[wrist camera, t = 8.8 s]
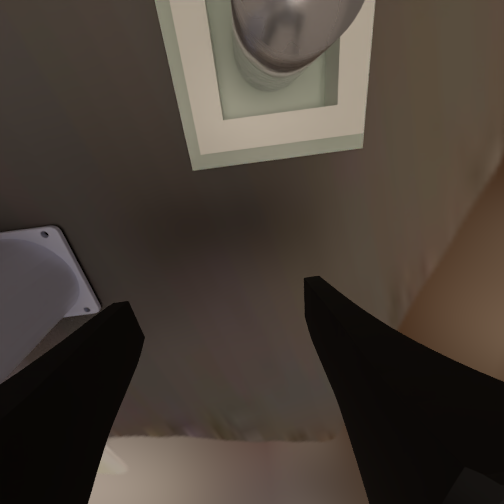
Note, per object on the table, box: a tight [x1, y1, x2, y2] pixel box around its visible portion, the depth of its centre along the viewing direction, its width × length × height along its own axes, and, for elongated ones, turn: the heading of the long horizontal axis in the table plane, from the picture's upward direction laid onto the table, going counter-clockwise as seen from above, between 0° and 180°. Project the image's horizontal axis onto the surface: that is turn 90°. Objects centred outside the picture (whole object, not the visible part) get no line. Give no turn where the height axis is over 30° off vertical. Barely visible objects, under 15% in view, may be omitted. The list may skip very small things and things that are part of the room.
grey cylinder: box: [231, 0, 365, 92], centre depth 10 cm, size 4×4×7 cm
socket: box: [155, 0, 375, 171], centre depth 12 cm, size 11×11×3 cm
